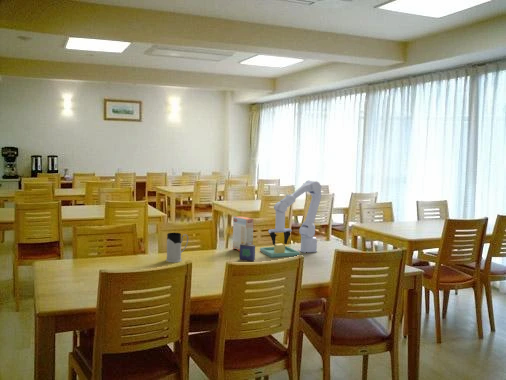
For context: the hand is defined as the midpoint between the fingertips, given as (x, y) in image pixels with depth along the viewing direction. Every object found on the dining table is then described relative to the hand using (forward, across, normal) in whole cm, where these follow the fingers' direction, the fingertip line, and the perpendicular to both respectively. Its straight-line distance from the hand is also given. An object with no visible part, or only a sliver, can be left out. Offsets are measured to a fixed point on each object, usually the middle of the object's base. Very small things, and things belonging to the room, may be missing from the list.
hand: (279, 244), depth 279 cm
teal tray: (+6, 0, 0) cm, 6 cm away
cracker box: (+6, -19, +13) cm, 24 cm away
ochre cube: (+5, 0, 0) cm, 5 cm away
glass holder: (+6, -62, +1) cm, 62 cm away
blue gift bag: (+6, -25, -11) cm, 28 cm away
